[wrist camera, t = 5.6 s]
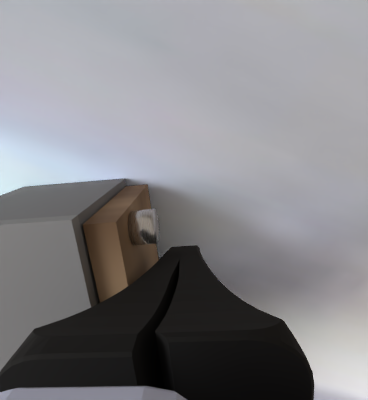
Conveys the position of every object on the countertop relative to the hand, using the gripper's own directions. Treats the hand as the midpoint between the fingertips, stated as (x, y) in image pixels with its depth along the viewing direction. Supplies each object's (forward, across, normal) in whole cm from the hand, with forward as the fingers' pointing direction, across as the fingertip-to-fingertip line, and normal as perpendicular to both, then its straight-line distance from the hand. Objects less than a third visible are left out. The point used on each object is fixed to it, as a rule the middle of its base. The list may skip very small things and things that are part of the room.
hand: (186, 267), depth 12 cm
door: (+2, +2, +3) cm, 3 cm away
